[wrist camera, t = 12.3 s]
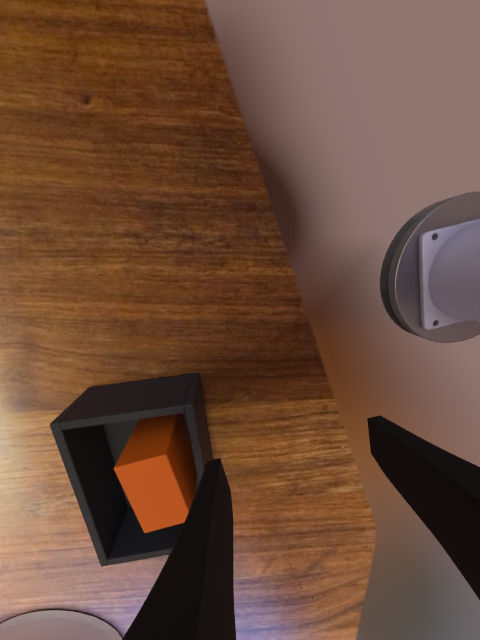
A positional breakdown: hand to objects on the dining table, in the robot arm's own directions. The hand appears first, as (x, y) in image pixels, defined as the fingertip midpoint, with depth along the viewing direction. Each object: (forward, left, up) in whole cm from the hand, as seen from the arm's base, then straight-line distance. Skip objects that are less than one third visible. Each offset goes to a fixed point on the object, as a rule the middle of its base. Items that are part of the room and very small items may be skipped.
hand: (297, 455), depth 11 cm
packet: (+10, +4, -9) cm, 14 cm away
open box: (+11, +5, -9) cm, 15 cm away
